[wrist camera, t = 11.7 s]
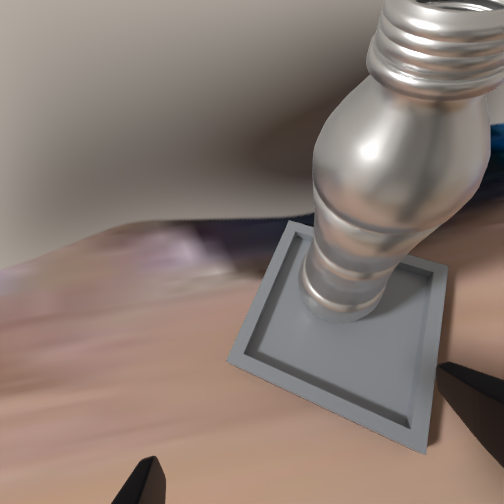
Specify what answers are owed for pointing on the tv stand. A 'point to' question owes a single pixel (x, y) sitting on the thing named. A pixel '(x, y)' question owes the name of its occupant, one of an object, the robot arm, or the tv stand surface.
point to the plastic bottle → (401, 148)
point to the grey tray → (350, 345)
